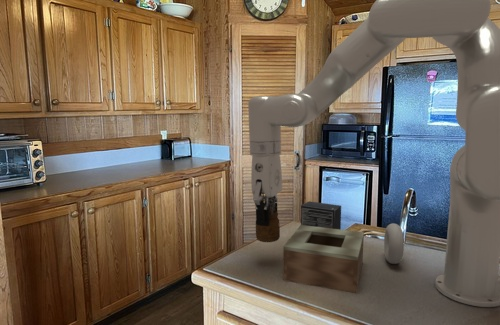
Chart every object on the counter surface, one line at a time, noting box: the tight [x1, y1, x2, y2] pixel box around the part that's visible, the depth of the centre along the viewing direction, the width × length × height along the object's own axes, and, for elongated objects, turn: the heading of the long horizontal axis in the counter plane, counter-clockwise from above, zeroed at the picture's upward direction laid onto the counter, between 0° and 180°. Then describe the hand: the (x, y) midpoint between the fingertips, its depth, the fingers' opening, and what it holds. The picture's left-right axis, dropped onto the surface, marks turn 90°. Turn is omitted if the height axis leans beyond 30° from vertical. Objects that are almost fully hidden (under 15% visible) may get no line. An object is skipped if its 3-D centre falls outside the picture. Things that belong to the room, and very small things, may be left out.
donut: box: [383, 223, 405, 265], centre depth 90 cm, size 10×4×10 cm, turn 168°
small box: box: [300, 201, 342, 230], centre depth 106 cm, size 11×6×10 cm, turn 58°
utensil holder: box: [255, 194, 281, 243], centre depth 88 cm, size 6×6×12 cm
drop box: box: [282, 224, 365, 294], centre depth 85 cm, size 16×16×8 cm
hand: (267, 220), depth 89 cm, fingers closed on utensil holder, 5 cm apart
